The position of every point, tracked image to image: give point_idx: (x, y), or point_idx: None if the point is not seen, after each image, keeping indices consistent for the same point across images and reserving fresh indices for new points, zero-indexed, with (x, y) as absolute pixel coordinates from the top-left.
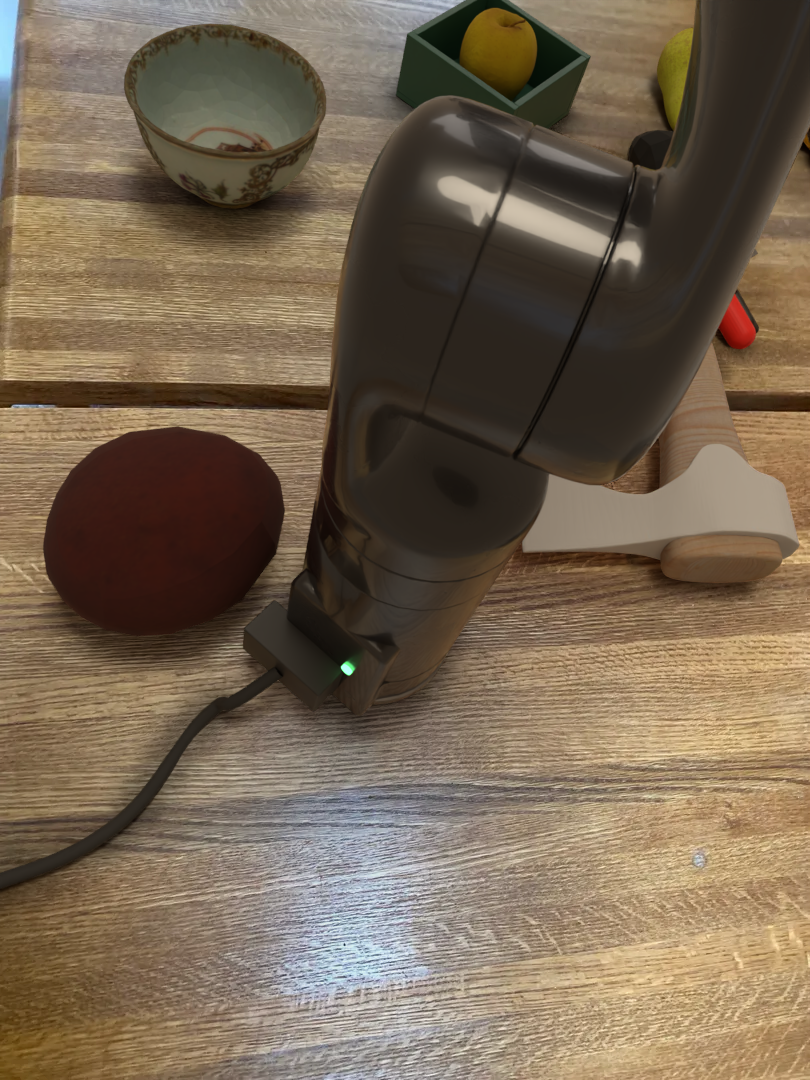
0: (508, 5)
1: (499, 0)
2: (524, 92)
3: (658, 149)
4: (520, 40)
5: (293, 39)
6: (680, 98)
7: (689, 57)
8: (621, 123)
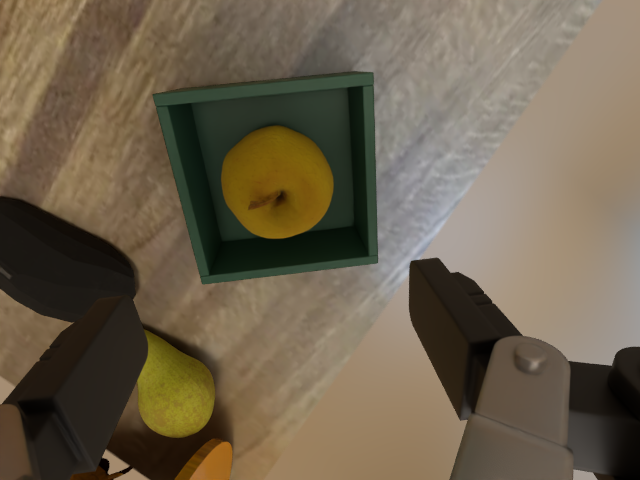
0: (336, 259)
1: (350, 257)
2: None
3: (59, 262)
4: (237, 188)
5: (513, 24)
6: None
7: (161, 392)
8: (175, 288)
